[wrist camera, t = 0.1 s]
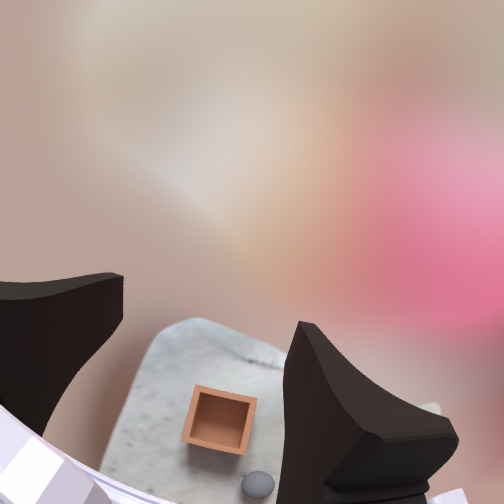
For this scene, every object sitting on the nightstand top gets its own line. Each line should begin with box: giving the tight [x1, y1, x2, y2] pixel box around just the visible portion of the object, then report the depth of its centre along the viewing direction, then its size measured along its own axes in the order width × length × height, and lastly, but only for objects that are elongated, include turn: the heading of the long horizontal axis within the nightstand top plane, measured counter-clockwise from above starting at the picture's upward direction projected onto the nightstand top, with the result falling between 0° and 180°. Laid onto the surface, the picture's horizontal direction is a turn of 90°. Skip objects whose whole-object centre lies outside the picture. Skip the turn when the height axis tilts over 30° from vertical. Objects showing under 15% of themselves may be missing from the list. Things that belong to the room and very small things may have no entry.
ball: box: [242, 471, 275, 499], centre depth 27 cm, size 4×4×4 cm
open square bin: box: [182, 384, 258, 455], centre depth 32 cm, size 8×8×6 cm
